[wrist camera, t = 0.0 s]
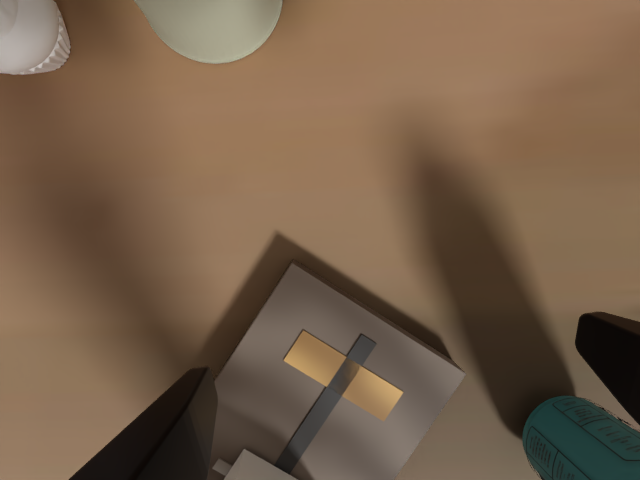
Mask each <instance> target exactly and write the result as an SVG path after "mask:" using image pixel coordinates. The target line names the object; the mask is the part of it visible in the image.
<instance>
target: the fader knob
mask: <svg viewBox="0 0 640 480" xmlns="http://www.w3.org/2000/svg"><path fill="white" fill-rule="evenodd" d="M224 480H298V479H296V478H294V477H293V476H291V475H289V474H287V473H286V472H284V471H282V470H280V469H279V468H277V467H275V466H273V465H272V464H270V463H268V462H266V461H265V460H263V459H261V458H259V457H258V456H256V455H254V454H252V453H251V452H249V451H247V450H246V449H244V450H243V451H242V453H241V454H240V456H239V457H238V459H237V460H236V462H235V463H234V465H233V466H232V468H231V469H230V471H229V472H228V474H227V475H226V477H225V478H224Z"/></svg>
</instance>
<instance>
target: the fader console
mask: <svg viewBox="0 0 640 480" xmlns="http://www.w3.org/2000/svg"><path fill="white" fill-rule="evenodd" d="M465 375H466V373H465V372H464V371H463V370H462V369H461V368H460V367H459V366H458V365H457V364H456V363H455V362H454V361H452V360H451V359H449V358H448V357H446V356H445V355H443V354H441V353H440V352H438V351H437V350H435V349H434V348H432V347H430V346H429V345H427V344H426V343H424V342H423V341H421V340H419V339H418V338H416V337H415V336H413V335H412V334H410V333H408V332H407V331H405V330H404V329H402V328H401V327H399V326H397V325H396V324H394V323H393V322H391V321H390V320H388V319H387V318H385V317H383V316H382V315H380V314H379V313H377V312H376V311H374V310H372V309H371V308H369V307H368V306H366V305H365V304H363V303H361V302H360V301H358V300H357V299H355V298H354V297H352V296H350V295H349V294H347V293H346V292H344V291H343V290H341V289H339V288H338V287H336V286H335V285H333V284H332V283H330V282H328V281H327V280H325V279H324V278H322V277H321V276H319V275H318V274H316V273H314V272H313V271H311V270H310V269H308V268H307V267H305V266H303V265H302V264H300V263H299V262H297V261H296V260H294V259H293V260H292V262H291V263H290V265H289V266H288V268H287V269H286V271H285V272H284V274H283V275H282V277H281V278H280V280H279V282H278V283H277V285H276V286H275V288H274V289H273V291H272V292H271V294H270V295H269V297H268V298H267V300H266V302H265V303H264V305H263V306H262V308H261V309H260V311H259V312H258V314H257V315H256V317H255V318H254V320H253V321H252V323H251V325H250V326H249V328H248V329H247V331H246V332H245V334H244V335H243V337H242V338H241V340H240V341H239V343H238V345H237V346H236V348H235V349H234V351H233V352H232V354H231V355H230V357H229V358H228V360H227V361H226V363H225V365H224V366H223V368H222V369H221V371H220V372H219V374H218V375H217V377H216V378H215V380H214V383H215V387H216V390H217V395H218V406H217V414H216V421H215V429H214V436H213V444H212V451H211V459H210V465H209V472H208V477H207V480H224V478H225V477H226V475H227V474H228V472H229V471H230V469H231V468H232V466H233V465H234V463H235V462H236V460H237V459H238V457H239V456H240V454H241V453H242V451H243V450H244V449H246V450H247V451H249V452H251V453H252V454H254V455H256V456H258V457H259V458H261V459H263V460H265V461H266V462H268V463H270V464H272V465H273V466H275V467H277V468H279V469H280V470H282V471H284V472H286V473H287V474H289V475H291V476H293V477H294V478H296V479H298V480H394V479H395V477H396V476H397V474H398V473H399V472H400V470H401V469H402V467H403V466H404V464H405V463H406V461H407V460H408V458H409V457H410V455H411V454H412V453H413V451H414V450H415V448H416V447H417V445H418V444H419V442H420V441H421V439H422V438H423V436H424V435H425V434H426V432H427V431H428V429H429V428H430V426H431V425H432V423H433V422H434V420H435V419H436V417H437V416H438V415H439V413H440V412H441V410H442V409H443V407H444V406H445V404H446V403H447V401H448V400H449V399H450V397H451V396H452V394H453V393H454V391H455V390H456V388H457V387H458V385H459V384H460V382H461V381H462V380H463V378H464V377H465Z"/></svg>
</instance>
